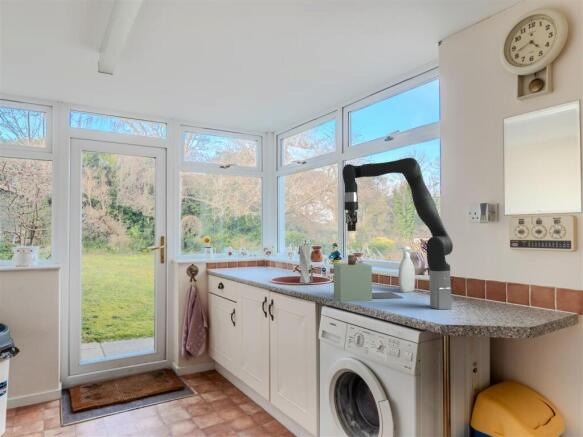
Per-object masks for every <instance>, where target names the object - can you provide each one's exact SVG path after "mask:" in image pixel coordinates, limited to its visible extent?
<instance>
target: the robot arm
mask: <svg viewBox="0 0 583 437" xmlns="http://www.w3.org/2000/svg"><path fill="white" fill-rule="evenodd" d="M387 174H402V175H403V177H404V178H405V180H406V181H407V182H406V183H407V184H408V186H409V189H410V192H411V198H412V203H413V206H414V209H415V212H416V213H417V216H418V217H419V219H420V220H421V221H422V222H423V224H424V225H425V226H426V227H427V228H428V230H429V231H430V234H431V237H430V238H429V239H428V240H427V242H426V246H425V247H426V262H427V266H428V268H429V270H428V271H429V273H428V274H429V276H428V277H429V278H428V279H429V307H430V308H433V309H437V310H451V309H453V306H452V302H453V301H452V288H451V287H452V286H451V265H450V264H449V263H448V262H447V261H446V256H448V255H450V254H451V253H452V252H453V249H454V245H453V241H452V239H451V237H450V234H449V233H448V231H447V230H446V227H445V226H444V223H443V221H442V219H441V216H440V214H439V211H438V208H437V206H436V204H435V200H434V199H433V196H432V195H431V192H430V191H429V188H428V187H427V186H426V184H425V180H424V177H423V174H422V169H421V166H420V164H419V163H418V160H417V159H415V158H413V157H405V158H401V159H396V160H392V161H385V162H375V163H362V164H361V165H360V164H359V165H353V164H352V163H351V164H350V163H347V164H345V165H344V166H343V168H342V179H343V184H344V194H343V196H344V197H343V200H344V201H343V207H344V208H343V210H344V211H347V212H345V223H346V225H347V227H346V228H347V232H356V231H357V223H358V210H359V194H358V192H359V191H358V184H357V182H356V179H359V178H360V179H361V178H371V177H372V178H373V177H380V176H384V175H387Z"/></svg>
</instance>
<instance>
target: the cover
mask: <svg viewBox="0 0 583 437" xmlns="http://www.w3.org/2000/svg"><path fill="white" fill-rule="evenodd" d="M356 257H357V256H356V255H354V254H348V255H347V262H346V263H333V297H334V298H336V297H337V298H338V299H339V300H338V299H337V298H336V299H337V300H338V301H340V302H357V301H358V302H359V301H360V302H363V301H364V302H366V301H373V299H372V293H373V275H372V274H373V272H372V270H373V269H372V268H373V266H372V265H371V264H367V263H363V262H357V261H356Z"/></svg>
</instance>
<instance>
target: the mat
mask: <svg viewBox="0 0 583 437" xmlns="http://www.w3.org/2000/svg"><path fill="white" fill-rule="evenodd" d="M386 299H387V300H389V299H393V300H395V299H404V296H401V295H398V294H396V293H394V292H390V291H389V292H388V291H385V292H383V291H382V292H372V300H386Z"/></svg>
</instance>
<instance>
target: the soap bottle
mask: <svg viewBox="0 0 583 437" xmlns="http://www.w3.org/2000/svg"><path fill="white" fill-rule="evenodd" d="M398 249H399V250H405V252H403V255H402V260H401V261H400V264H399V268H398V277H397V278H398V279H397V280H398V288H399V291H400V292H401V293H403V294H404V293H405V294H407V293H408V294H409V293H412V292H413V291H414V289H415V285H416V271H415V266H414V263H413V261H412V259H411V257H410V253H409V252H408V250H411V249H412V248H411V246H409V245H405V246H403V247H398Z"/></svg>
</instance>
